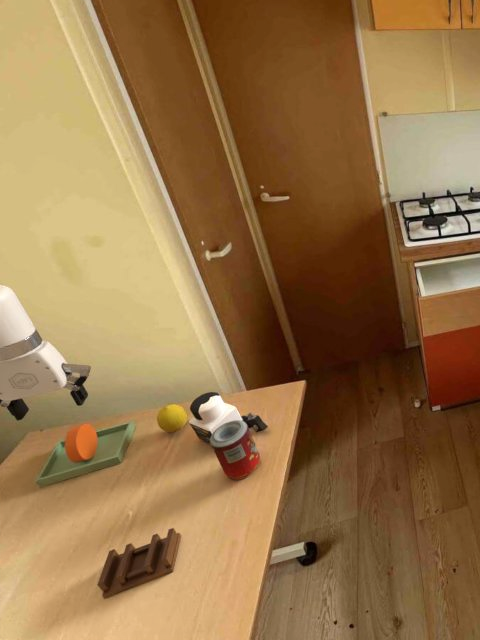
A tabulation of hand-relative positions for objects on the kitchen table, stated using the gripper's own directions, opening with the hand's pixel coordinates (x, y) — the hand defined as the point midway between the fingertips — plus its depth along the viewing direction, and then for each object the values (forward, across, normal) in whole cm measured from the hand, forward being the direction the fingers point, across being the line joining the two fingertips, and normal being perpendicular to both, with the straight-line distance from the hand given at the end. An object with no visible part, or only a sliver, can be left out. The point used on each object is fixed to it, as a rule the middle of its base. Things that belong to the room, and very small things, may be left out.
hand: (53, 408), depth 91 cm
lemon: (+16, +18, +1) cm, 24 cm away
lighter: (+16, +35, -8) cm, 39 cm away
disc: (+11, +1, 0) cm, 11 cm away
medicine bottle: (+15, +28, -6) cm, 33 cm away
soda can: (+16, +34, -18) cm, 42 cm away
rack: (+16, +19, -33) cm, 41 cm away
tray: (+16, +1, +1) cm, 16 cm away
